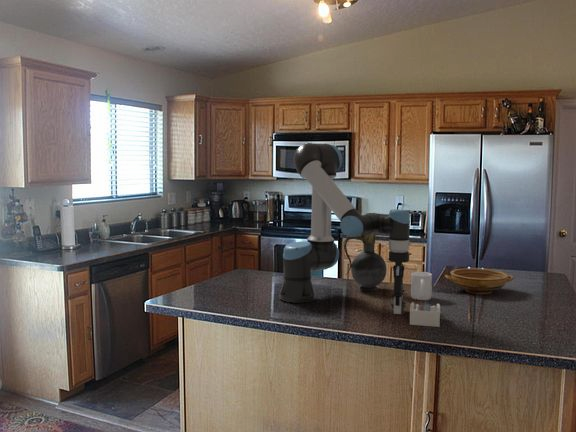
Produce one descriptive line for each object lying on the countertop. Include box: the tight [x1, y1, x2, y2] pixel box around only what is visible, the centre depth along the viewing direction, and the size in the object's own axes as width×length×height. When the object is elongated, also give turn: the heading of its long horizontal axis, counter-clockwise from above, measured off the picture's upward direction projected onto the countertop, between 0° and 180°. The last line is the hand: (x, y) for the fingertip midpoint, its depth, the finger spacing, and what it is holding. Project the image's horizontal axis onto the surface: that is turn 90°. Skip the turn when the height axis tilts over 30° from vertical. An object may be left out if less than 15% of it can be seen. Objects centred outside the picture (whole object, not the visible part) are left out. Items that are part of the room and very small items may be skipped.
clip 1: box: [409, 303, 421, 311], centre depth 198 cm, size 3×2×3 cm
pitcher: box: [343, 233, 388, 292], centre depth 233 cm, size 11×19×30 cm, turn 89°
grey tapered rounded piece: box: [390, 284, 407, 315], centre depth 197 cm, size 6×6×12 cm
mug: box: [410, 271, 433, 301], centre depth 217 cm, size 12×8×10 cm
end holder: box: [409, 301, 441, 328], centre depth 186 cm, size 10×12×5 cm
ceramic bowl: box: [444, 267, 515, 295], centre depth 231 cm, size 30×24×8 cm
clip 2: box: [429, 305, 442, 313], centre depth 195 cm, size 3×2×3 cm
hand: (398, 311), depth 198 cm, fingers closed on grey tapered rounded piece, 6 cm apart
